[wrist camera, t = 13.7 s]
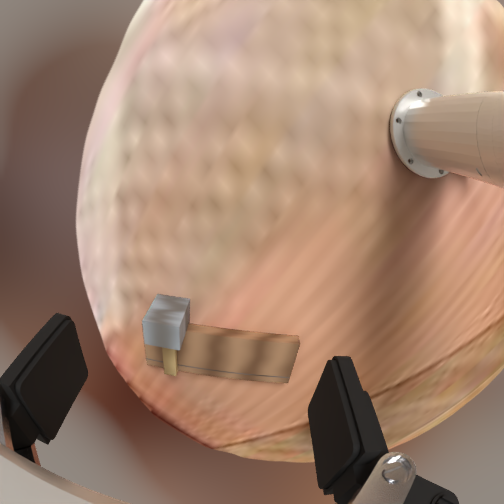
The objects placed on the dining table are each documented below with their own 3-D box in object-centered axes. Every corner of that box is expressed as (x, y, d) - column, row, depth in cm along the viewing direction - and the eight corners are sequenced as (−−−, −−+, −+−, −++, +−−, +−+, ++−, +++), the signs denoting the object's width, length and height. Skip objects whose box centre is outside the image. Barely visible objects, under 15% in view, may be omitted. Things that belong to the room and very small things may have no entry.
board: (298, 336, 43) (300, 344, 41) (287, 375, 47) (287, 383, 45) (146, 316, 42) (142, 323, 40) (150, 357, 46) (146, 364, 44)
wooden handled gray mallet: (190, 298, 41) (179, 327, 34) (189, 362, 46) (181, 392, 39) (157, 293, 41) (142, 320, 34) (161, 357, 46) (150, 386, 39)
